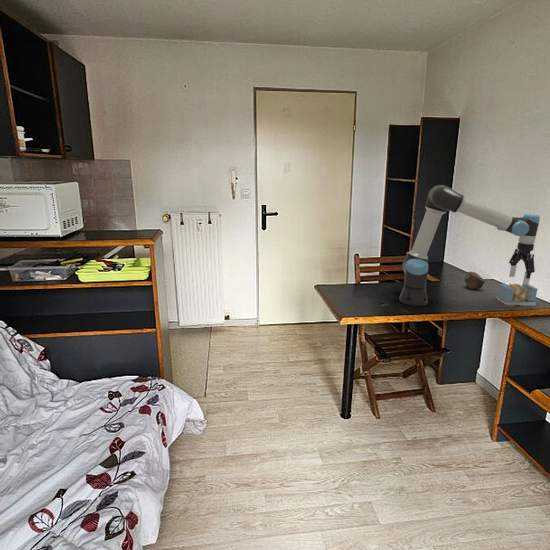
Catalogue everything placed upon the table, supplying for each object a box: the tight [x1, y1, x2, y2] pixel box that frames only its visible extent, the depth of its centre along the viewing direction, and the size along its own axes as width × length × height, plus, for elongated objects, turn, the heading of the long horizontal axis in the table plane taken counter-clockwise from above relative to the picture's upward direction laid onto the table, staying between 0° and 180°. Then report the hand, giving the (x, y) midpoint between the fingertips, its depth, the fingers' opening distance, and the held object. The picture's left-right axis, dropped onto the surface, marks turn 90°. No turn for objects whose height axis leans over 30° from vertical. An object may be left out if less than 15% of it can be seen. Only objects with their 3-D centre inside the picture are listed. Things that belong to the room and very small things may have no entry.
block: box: [508, 283, 527, 302], centre depth 224 cm, size 5×8×8 cm, turn 179°
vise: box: [495, 283, 538, 307], centre depth 224 cm, size 16×11×10 cm
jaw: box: [496, 283, 514, 302], centre depth 224 cm, size 4×9×8 cm, turn 179°
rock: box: [464, 271, 486, 290], centre depth 248 cm, size 12×10×10 cm
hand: (518, 280), depth 222 cm, fingers open, 13 cm apart
